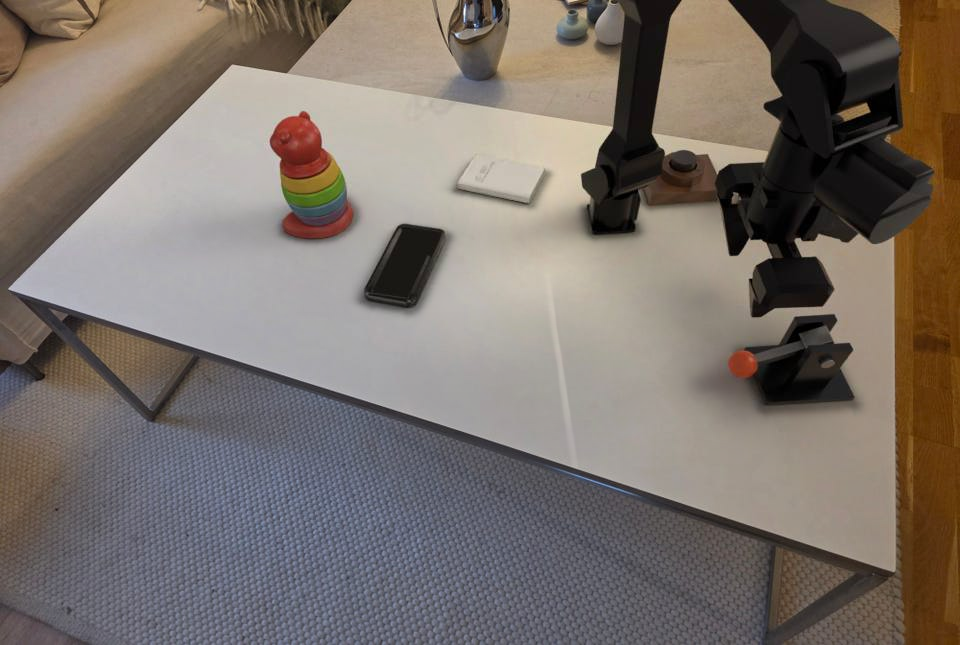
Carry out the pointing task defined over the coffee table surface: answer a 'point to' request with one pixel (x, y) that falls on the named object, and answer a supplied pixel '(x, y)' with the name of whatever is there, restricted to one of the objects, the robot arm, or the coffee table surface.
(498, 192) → the hard drive
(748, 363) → the switch lever
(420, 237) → the phone
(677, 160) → the button
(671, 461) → the coffee table surface
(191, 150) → the coffee table surface
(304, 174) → the stacking bear
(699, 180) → the button block
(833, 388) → the switch bracket
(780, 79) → the robot arm
